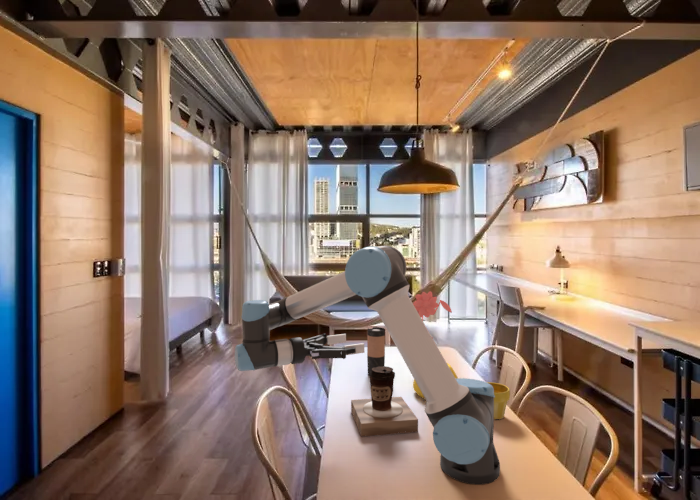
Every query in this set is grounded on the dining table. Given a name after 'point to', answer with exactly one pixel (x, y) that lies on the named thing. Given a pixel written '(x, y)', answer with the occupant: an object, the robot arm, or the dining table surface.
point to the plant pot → (500, 399)
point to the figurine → (428, 304)
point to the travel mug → (375, 348)
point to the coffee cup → (381, 387)
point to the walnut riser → (383, 418)
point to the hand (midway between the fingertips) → (354, 342)
